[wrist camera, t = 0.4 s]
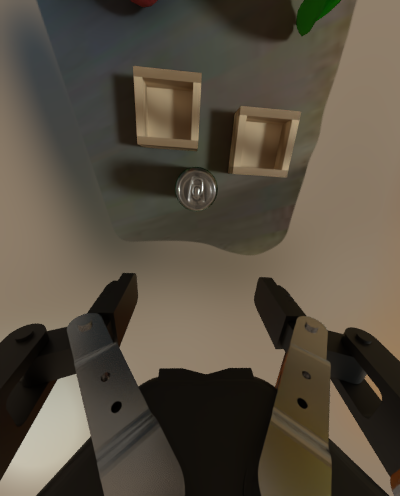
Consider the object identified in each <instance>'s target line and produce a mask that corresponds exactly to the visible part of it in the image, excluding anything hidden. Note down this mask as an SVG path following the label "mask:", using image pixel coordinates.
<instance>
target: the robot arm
mask: <svg viewBox="0 0 400 496" xmlns="http://www.w3.org/2000/svg"><path fill="white" fill-rule="evenodd" d="M137 299H138V290H137V277H136V274H135V273H123V274H122V276H121V277H120V279H119V280H118V281H112V282H111V283H110V284H108V285H107V286H106V287H105V289H104V290H103V292H102V293H101V294H100V296H99V297H98V298H97V300H96V301H95V303H94V304H93V306H92V307H91V308H90V310H89V311H88V313H87V314H83V315H81V316H78V317H77V318H75V319H74V320H72V321H71V322H70V323H69V325H68V327H64V328H60V329H55V330H51V331H47V330H46V328H45V326H44V325H42V324H30V325H26V326H23V327H21V328H19V329H17V330H15V331H13V332H12V333H10V334H9V335H8V336H7V337H6V338H5V339H4V340H3V341H2V342H1V343H0V480H1V479H2V477H3V475H4V473H5V472H6V470H7V468H8V466H9V464H10V463H11V461H12V459H13V457H14V455H15V454H16V452H17V450H18V448H19V447H20V445H21V443H22V441H23V440H24V438H25V436H26V434H27V433H28V431H29V429H30V427H31V425H32V424H33V422H34V420H35V418H36V416H37V415H38V413H39V411H40V409H41V408H42V406H43V404H44V402H45V400H46V399H47V397H48V395H49V393H50V392H51V390H52V388H53V386H54V384H55V383H56V381H57V379H60V378H63V377H66V376H70V375H73V374H77V378H78V382H79V387H80V391H81V395H82V400H83V404H84V408H85V412H86V417H87V421H88V425H89V429H90V434H91V437H90V438H89V439H88V440H87V441H86V442H85V443H84V445H82V447H81V448H80V449H79V450H78V451H77V452H76V453H75V454H74V455H73V456H72V457H71V459H70V460H69V461H68V462H67V463H66V464H65V465H64V466H63V467H62V468H61V469H60V470H59V472H58V473H57V474H56V475H55V476H54V477H53V478H52V479H51V480H50V481H49V482H48V483H47V485H46V486H45V487H44V488H43V489H42V490H41V491H40V492H39V493H38V494H37V495H36V496H389V495H388V494H387V493H386V492H385V491H384V490H383V489H382V488H381V487H379V486H378V485H377V484H376V483H375V482H374V481H373V480H372V479H371V478H370V477H369V476H368V475H367V474H366V473H365V472H364V471H363V470H362V469H361V468H360V467H359V466H358V465H356V464H355V463H354V462H353V461H352V460H351V459H350V458H349V457H348V456H347V455H346V454H345V453H344V452H343V451H342V450H341V449H340V448H339V447H338V446H337V445H336V444H335V443H333V442H332V441H331V440H330V439H329V438H328V437H329V404H330V379H331V381H332V382H333V384H334V385H335V387H336V389H337V390H338V392H339V394H340V395H341V397H342V399H343V400H344V402H345V404H346V405H347V407H348V409H349V410H350V412H351V413H352V415H353V417H354V418H355V420H356V421H357V423H358V425H359V427H360V428H361V430H362V432H363V433H364V435H365V436H366V438H367V440H368V441H369V443H370V445H371V446H372V448H373V449H374V451H375V453H376V454H377V456H378V458H379V459H380V461H381V463H382V464H383V466H384V467H385V469H386V471H387V472H388V474H389V476H390V484H391V488H392V492H393V494H394V496H400V361H399V360H398V359H397V358H395V356H393V355H392V354H391V353H390V352H389V351H388V350H387V349H386V348H385V347H384V346H383V345H382V344H381V343H380V342H379V341H378V340H377V339H376V338H375V337H374V336H372V335H371V334H369V333H367V332H365V331H363V330H361V329H357V328H347V329H346V330H345V332H344V334H340V333H336V332H332V331H328V330H327V329H326V327H325V326H324V325H323V324H322V323H321V322H319V321H318V320H316V319H314V318H311V317H307V316H306V315H305V314H304V312H303V311H302V310H301V308H300V307H299V306H298V305H297V303H296V302H295V301H294V299H293V298H292V297H291V296H290V294H289V293H288V292H287V291H286V290H285V289H284V288H283V287H281V286H279V285H277V284H276V283H275V282H274V280H273V279H272V278H266V277H260V278H259V279H258V282H257V288H256V292H255V296H254V302H255V306H256V308H257V311H258V313H259V314H260V317H261V319H262V321H263V323H264V325H265V327H266V330H267V332H268V334H269V336H270V338H271V340H272V342H273V344H274V347H275V349H284V350H285V355H284V358H283V362H282V365H281V368H280V372H279V375H278V378H277V382H276V385H275V387H274V386H273V385H271V384H269V383H268V382H266V381H264V380H262V379H260V378H257V377H254V376H253V373H252V370H251V368H228V369H225V370H221V371H218V372H214V373H211V374H202V373H198V372H194V371H191V370H186V369H183V368H182V369H181V368H180V369H179V368H176V369H175V368H174V369H173V368H172V369H171V368H170V369H159V376H158V377H156V378H153V379H151V380H148V381H147V382H145V383H143V384H142V385H140V386H139V387H138V385H137V383H136V381H135V379H134V377H133V375H132V373H131V371H130V369H129V367H128V365H127V363H126V361H125V359H124V357H123V354H122V352H121V350H120V348H119V347H120V344H121V342H122V339H123V337H124V334H125V332H126V329H127V326H128V324H129V321H130V319H131V316H132V314H133V311H134V309H135V306H136V304H137ZM366 375H368V376H369V377H370V378H371V380H372V381H373V382H374V383H375V385H376V386H377V387H378V388H379V390H380V392H381V395H382V401H381V400H380V399H379V397H378V396H377V395H376V393H375V392H374V391H373V389H372V388H371V387H370V386H369V384H368V383H367V382H366V380H365V379H364V378H365V376H366Z"/></svg>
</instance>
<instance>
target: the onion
mask: <svg viewBox="0 0 400 496" xmlns="http://www.w3.org/2000/svg"><path fill="white" fill-rule="evenodd" d="M156 1H158V0H131V2H133V3H135V4H137V5H139V6H141V7H149V6H152V5H153V4H154V3H155V2H156Z"/></svg>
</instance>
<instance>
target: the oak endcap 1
mask: <svg viewBox="0 0 400 496" xmlns="http://www.w3.org/2000/svg"><path fill="white" fill-rule="evenodd" d="M133 73H134V91H135V109H136V127H137V144H138V145H140V146H142V147H147V148H160V149H173V150H187V151H197V149H198V134H199V115H200V96H201V77H202V73H195V72H185V71H176V70H166V69H157V68H148V67H138V66H133Z"/></svg>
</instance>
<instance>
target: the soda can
mask: <svg viewBox="0 0 400 496" xmlns="http://www.w3.org/2000/svg"><path fill="white" fill-rule="evenodd" d="M217 192H218V187H217V182H216V180H215V178H214V176H213V175H212V174H211V173H210V172H209V171H208V170H206V169H204V168H201V167H192V168H189V169H187V170H185V171H184V172H182V173H181V175H180V176H179V177H178V179H177V182H176V185H175V193H176V197H177V199H178V201H179V202H180V204H181V205H182V206H183V207H185V208H186V209H188V210H191V211H202V210H205V209H207V208H208V207H210V206H211V205H212V204H213V202H214V201H215V199H216V196H217Z"/></svg>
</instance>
